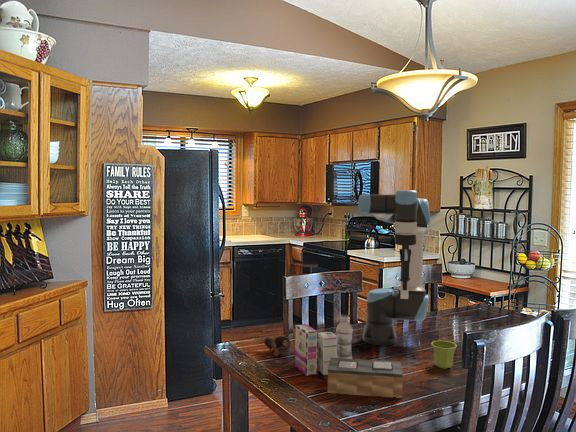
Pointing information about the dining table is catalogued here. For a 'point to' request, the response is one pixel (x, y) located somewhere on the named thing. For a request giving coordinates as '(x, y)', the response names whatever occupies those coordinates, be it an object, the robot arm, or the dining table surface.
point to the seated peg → (347, 364)
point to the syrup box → (326, 350)
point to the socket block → (365, 379)
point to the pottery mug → (278, 345)
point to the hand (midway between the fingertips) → (404, 298)
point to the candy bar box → (306, 349)
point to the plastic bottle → (344, 337)
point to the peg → (382, 366)
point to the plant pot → (443, 353)
